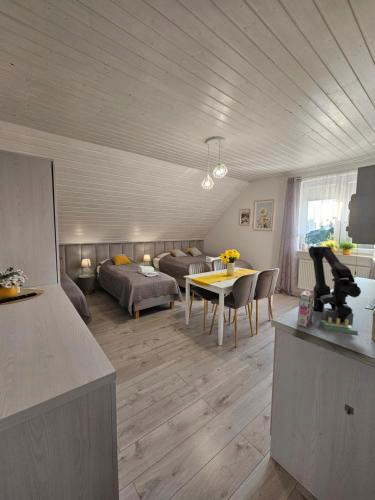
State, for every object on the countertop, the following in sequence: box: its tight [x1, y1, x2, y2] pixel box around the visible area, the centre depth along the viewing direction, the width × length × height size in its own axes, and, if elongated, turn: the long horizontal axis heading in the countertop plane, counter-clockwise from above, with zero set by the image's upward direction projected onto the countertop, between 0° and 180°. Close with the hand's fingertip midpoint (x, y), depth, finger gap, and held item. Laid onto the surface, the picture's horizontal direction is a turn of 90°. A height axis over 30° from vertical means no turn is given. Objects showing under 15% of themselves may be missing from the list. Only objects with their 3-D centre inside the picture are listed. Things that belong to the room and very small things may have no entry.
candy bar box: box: [296, 289, 314, 329], centre depth 115 cm, size 11×5×16 cm, turn 141°
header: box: [319, 317, 359, 335], centre depth 110 cm, size 8×14×5 cm, turn 73°
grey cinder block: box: [322, 307, 354, 326], centre depth 118 cm, size 5×12×6 cm, turn 73°
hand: (337, 319), depth 118 cm, fingers open, 9 cm apart
